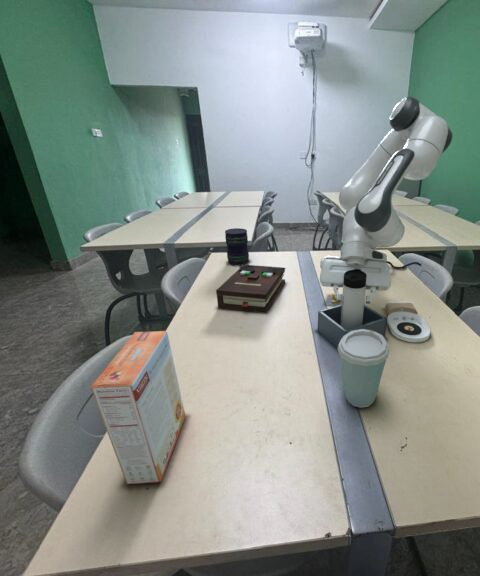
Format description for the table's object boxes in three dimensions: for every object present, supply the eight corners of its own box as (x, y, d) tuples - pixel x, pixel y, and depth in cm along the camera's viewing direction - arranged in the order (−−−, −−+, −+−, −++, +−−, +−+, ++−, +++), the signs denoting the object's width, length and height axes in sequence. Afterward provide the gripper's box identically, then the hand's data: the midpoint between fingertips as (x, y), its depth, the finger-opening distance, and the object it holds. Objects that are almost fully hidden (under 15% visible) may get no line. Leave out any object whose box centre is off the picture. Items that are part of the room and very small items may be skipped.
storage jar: (238, 267, 143) (235, 234, 136) (223, 262, 147) (219, 231, 141) (253, 261, 150) (251, 230, 144) (239, 257, 155) (236, 227, 149)
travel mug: (363, 331, 96) (369, 270, 87) (358, 343, 90) (364, 278, 82) (343, 327, 98) (347, 267, 89) (337, 338, 92) (341, 275, 84)
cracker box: (156, 418, 64) (134, 329, 55) (187, 417, 64) (169, 329, 56) (122, 486, 51) (87, 385, 42) (161, 484, 52) (134, 383, 43)
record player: (415, 301, 108) (437, 334, 90) (414, 309, 110) (435, 343, 91) (382, 301, 108) (396, 333, 90) (381, 309, 109) (395, 343, 91)
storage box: (355, 319, 103) (357, 299, 100) (384, 339, 92) (387, 318, 89) (317, 331, 95) (318, 310, 92) (344, 354, 85) (346, 332, 82)
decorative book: (208, 290, 102) (242, 260, 129) (211, 311, 105) (244, 277, 132) (266, 295, 99) (289, 263, 126) (267, 316, 102) (289, 281, 130)
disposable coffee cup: (371, 423, 64) (378, 363, 58) (325, 401, 69) (328, 344, 63) (389, 392, 72) (398, 336, 66) (348, 375, 77) (352, 322, 71)
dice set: (332, 297, 117) (332, 292, 116) (345, 299, 116) (346, 294, 115) (329, 303, 112) (329, 298, 111) (344, 305, 111) (344, 300, 111)
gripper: (320, 250, 91) (316, 295, 86) (392, 254, 90) (391, 300, 85) (321, 260, 97) (317, 302, 92) (389, 264, 95) (388, 307, 91)
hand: (353, 302), depth 88 cm, fingers open, 7 cm apart
